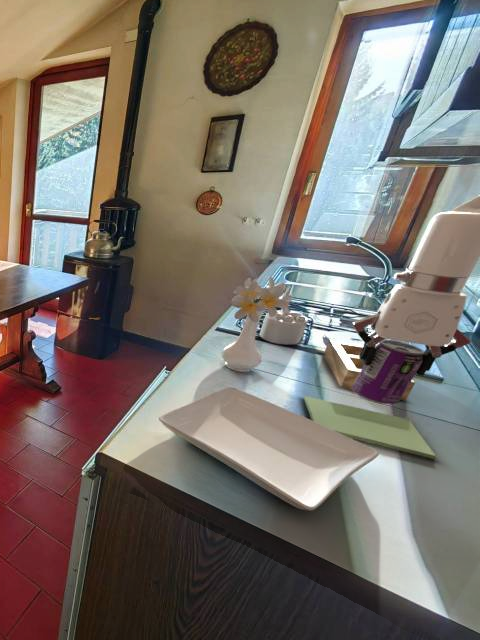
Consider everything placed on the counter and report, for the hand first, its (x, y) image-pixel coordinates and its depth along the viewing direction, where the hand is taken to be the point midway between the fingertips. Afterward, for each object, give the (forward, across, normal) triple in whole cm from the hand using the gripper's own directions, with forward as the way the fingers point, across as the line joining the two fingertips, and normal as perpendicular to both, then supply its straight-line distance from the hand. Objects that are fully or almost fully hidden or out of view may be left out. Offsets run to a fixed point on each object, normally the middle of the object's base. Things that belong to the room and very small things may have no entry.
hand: (390, 366), depth 79 cm
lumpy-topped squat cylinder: (+14, -10, +50) cm, 53 cm away
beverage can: (+7, 0, 0) cm, 8 cm away
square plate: (+14, -20, -21) cm, 32 cm away
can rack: (+14, +6, +30) cm, 34 cm away
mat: (+14, 0, 0) cm, 14 cm away
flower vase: (+14, -22, +17) cm, 31 cm away
